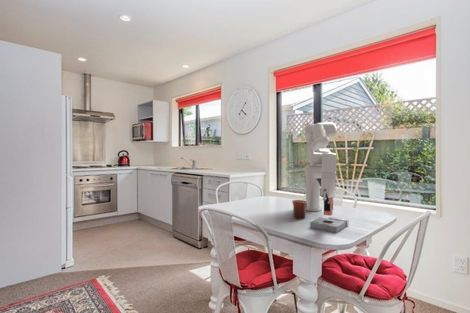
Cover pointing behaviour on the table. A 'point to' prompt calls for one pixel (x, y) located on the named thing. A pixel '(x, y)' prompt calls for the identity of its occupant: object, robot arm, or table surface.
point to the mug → (299, 209)
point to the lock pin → (330, 207)
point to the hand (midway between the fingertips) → (328, 210)
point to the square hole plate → (328, 224)
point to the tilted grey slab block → (340, 220)
